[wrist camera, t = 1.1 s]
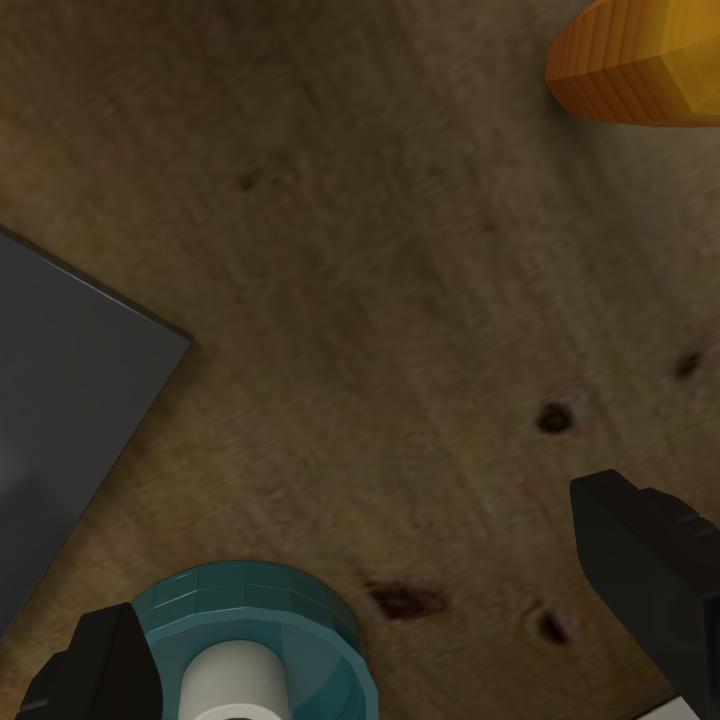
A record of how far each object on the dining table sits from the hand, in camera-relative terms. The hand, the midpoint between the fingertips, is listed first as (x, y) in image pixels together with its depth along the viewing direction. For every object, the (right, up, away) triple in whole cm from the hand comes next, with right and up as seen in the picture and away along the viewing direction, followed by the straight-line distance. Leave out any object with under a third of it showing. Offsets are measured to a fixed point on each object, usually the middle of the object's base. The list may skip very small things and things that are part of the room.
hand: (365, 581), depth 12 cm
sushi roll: (-6, -12, +20) cm, 25 cm away
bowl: (-6, -12, +21) cm, 25 cm away
